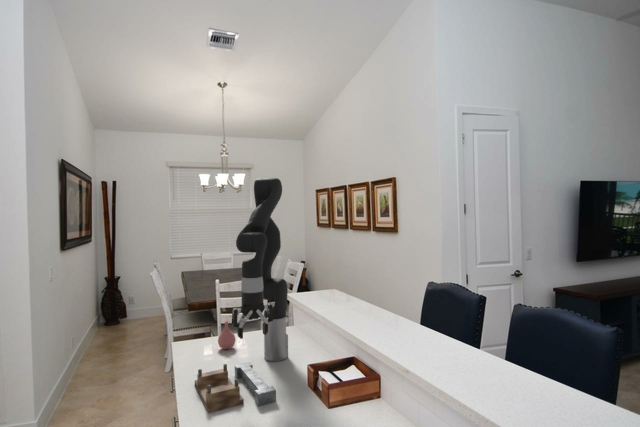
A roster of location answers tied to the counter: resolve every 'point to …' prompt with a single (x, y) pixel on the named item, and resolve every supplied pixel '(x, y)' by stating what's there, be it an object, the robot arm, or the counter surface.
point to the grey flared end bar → (255, 384)
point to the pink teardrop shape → (226, 338)
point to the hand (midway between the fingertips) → (252, 336)
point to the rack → (218, 390)
